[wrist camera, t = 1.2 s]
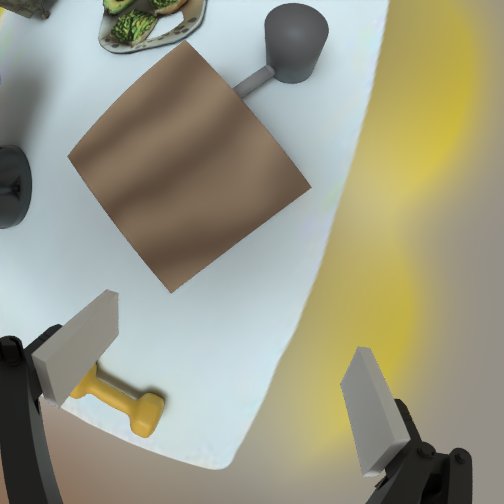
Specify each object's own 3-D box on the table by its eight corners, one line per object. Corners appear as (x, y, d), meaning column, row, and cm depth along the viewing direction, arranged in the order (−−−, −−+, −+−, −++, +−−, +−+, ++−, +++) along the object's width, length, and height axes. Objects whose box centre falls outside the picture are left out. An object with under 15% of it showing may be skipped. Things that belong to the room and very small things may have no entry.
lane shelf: (122, 156, 36) (67, 156, 24) (211, 77, 32) (185, 39, 20) (200, 255, 39) (171, 293, 27) (298, 181, 36) (311, 187, 24)
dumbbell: (171, 393, 47) (158, 424, 39) (159, 418, 49) (146, 447, 42) (82, 342, 46) (59, 367, 38) (78, 372, 48) (58, 396, 40)
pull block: (177, 120, 34) (142, 104, 24) (293, 36, 30) (300, -6, 20) (205, 153, 35) (178, 148, 25) (323, 68, 31) (341, 34, 21)
